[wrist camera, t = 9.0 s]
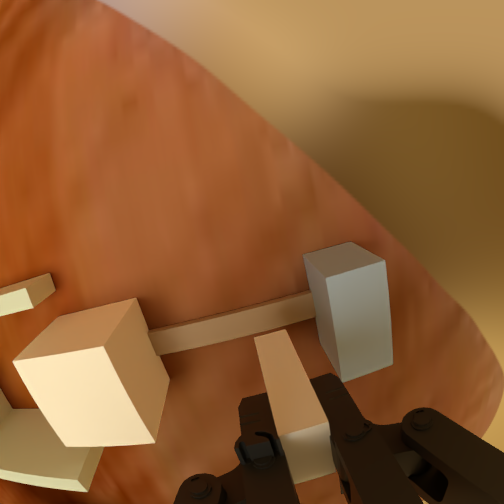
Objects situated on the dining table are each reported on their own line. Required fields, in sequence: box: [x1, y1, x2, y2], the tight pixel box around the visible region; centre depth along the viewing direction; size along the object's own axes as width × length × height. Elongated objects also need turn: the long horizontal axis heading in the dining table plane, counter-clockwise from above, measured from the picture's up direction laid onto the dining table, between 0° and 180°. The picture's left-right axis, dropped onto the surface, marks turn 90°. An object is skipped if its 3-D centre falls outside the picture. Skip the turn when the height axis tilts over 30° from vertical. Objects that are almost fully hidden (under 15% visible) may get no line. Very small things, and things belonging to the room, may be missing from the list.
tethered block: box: [13, 241, 393, 447], centre depth 16 cm, size 19×6×6 cm, turn 104°
